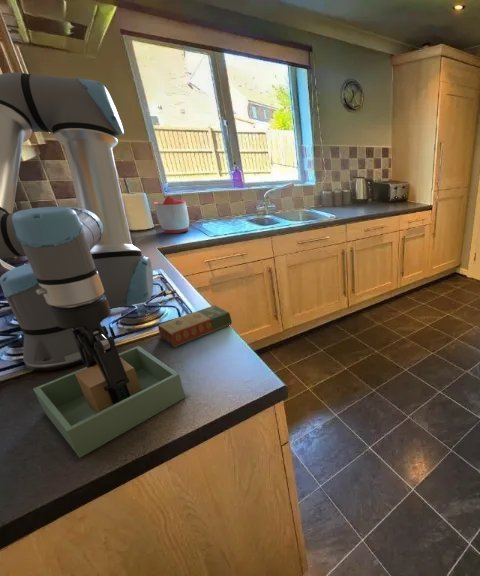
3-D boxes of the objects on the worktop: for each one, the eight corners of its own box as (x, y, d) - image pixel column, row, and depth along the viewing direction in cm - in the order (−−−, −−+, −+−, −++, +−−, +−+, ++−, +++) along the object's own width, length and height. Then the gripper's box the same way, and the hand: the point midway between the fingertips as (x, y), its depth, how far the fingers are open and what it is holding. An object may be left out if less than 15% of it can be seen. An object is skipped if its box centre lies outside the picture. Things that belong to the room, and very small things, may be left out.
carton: (160, 337, 89) (156, 323, 87) (217, 315, 101) (215, 303, 99) (174, 348, 85) (170, 334, 83) (232, 324, 97) (230, 311, 95)
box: (88, 405, 65) (74, 373, 62) (128, 386, 70) (117, 355, 67) (103, 421, 62) (89, 388, 58) (144, 399, 67) (133, 367, 64)
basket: (45, 413, 64) (32, 388, 61) (145, 367, 77) (138, 345, 75) (79, 458, 55) (67, 431, 53) (185, 397, 69) (179, 374, 66)
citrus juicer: (175, 227, 200) (168, 193, 192) (198, 230, 195) (191, 195, 187) (151, 232, 186) (142, 196, 178) (175, 236, 181) (166, 199, 173)
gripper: (29, 292, 59) (74, 392, 68) (71, 325, 49) (116, 437, 58) (82, 279, 64) (117, 373, 74) (128, 307, 55) (161, 411, 64)
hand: (116, 401), depth 66 cm, fingers closed on box, 7 cm apart
